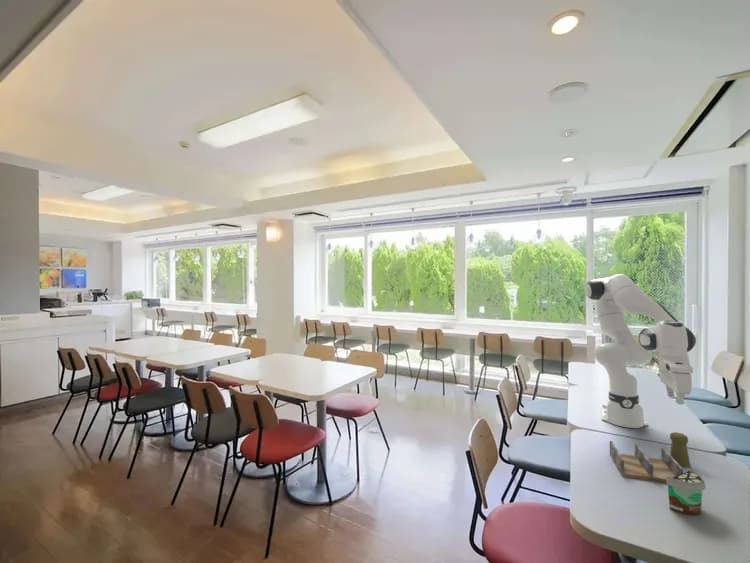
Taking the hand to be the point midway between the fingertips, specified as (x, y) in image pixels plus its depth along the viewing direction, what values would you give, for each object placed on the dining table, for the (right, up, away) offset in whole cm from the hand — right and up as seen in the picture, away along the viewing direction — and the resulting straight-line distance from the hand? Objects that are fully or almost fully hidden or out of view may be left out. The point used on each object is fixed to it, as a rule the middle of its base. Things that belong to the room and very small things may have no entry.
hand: (675, 400), depth 131 cm
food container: (-20, -24, -28) cm, 41 cm away
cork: (+1, -24, -1) cm, 24 cm away
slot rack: (-16, -24, -5) cm, 29 cm away
